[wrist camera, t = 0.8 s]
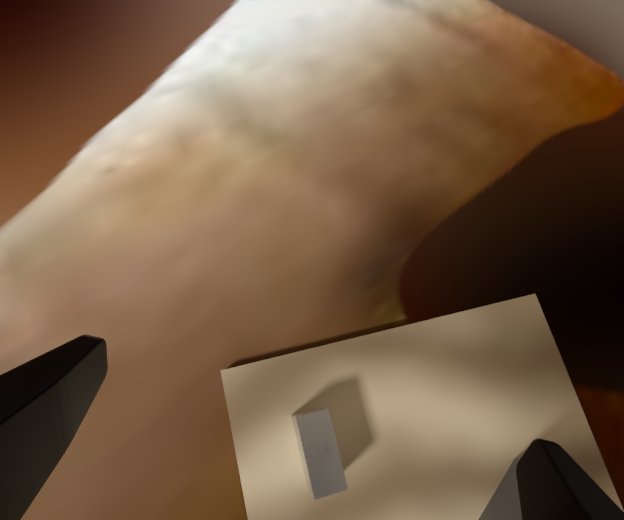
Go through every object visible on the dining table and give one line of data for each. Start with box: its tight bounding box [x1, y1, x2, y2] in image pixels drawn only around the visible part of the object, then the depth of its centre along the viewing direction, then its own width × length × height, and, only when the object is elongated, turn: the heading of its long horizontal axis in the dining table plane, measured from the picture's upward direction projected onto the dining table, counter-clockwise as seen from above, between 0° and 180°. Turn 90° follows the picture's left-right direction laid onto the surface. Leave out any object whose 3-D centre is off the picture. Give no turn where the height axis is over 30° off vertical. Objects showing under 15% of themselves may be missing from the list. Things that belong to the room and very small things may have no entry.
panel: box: [221, 294, 624, 520], centre depth 23 cm, size 18×20×1 cm
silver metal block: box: [291, 408, 348, 500], centre depth 21 cm, size 4×2×3 cm, turn 14°
